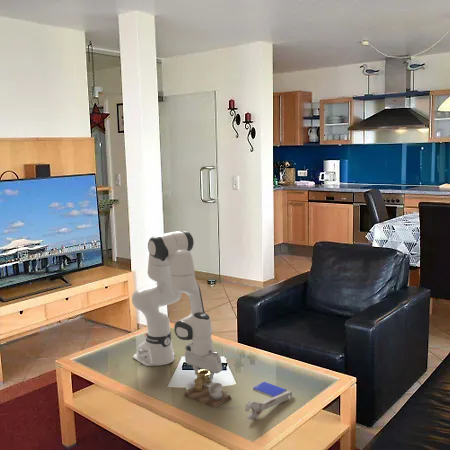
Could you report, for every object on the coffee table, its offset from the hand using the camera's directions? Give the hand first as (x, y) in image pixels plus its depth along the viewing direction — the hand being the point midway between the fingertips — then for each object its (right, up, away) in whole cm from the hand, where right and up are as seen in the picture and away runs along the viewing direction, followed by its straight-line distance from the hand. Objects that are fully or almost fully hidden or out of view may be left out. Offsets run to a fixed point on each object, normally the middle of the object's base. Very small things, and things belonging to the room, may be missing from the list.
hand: (203, 377), depth 249 cm
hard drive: (+29, -3, -12) cm, 32 cm away
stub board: (+2, -4, -16) cm, 16 cm away
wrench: (+28, -6, -29) cm, 40 cm away
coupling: (0, -2, 0) cm, 2 cm away
